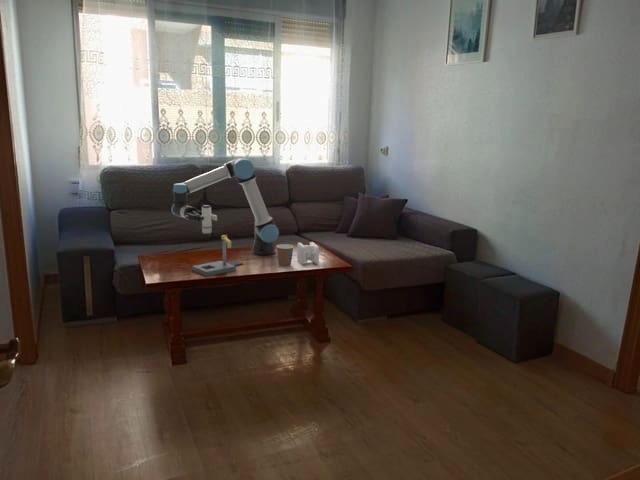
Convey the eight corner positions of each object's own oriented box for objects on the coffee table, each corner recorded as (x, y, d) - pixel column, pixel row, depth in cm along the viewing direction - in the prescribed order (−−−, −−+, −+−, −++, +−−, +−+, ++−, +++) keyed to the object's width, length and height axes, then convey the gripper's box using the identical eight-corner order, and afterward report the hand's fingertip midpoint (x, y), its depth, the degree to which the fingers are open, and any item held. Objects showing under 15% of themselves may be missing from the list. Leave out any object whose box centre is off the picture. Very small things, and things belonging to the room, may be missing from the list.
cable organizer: (296, 259, 318) (296, 241, 315) (312, 259, 321) (313, 241, 318) (302, 266, 304) (303, 247, 301) (319, 265, 307) (320, 246, 304)
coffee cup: (290, 268, 298) (291, 248, 295) (273, 267, 299) (274, 247, 297) (295, 264, 307) (295, 244, 305) (278, 262, 309) (279, 243, 307)
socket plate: (220, 264, 301) (220, 236, 297) (235, 270, 290) (235, 241, 287) (192, 270, 288) (191, 240, 284) (206, 276, 277) (206, 245, 274)
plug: (208, 231, 285) (208, 204, 282) (214, 232, 281) (213, 205, 278) (199, 232, 281) (198, 205, 278) (205, 234, 277) (204, 206, 274)
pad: (235, 261, 308) (235, 260, 308) (243, 264, 303) (243, 263, 303) (224, 263, 303) (224, 262, 303) (231, 266, 297) (231, 265, 297)
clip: (220, 241, 291) (220, 235, 291) (226, 241, 293) (226, 235, 292) (226, 248, 277) (226, 241, 276) (232, 247, 278) (232, 240, 278)
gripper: (203, 217, 299) (226, 223, 283) (175, 221, 287) (197, 227, 270) (203, 204, 297) (225, 210, 281) (175, 207, 285) (197, 213, 269)
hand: (212, 218), depth 276 cm, fingers closed on plug, 5 cm apart
